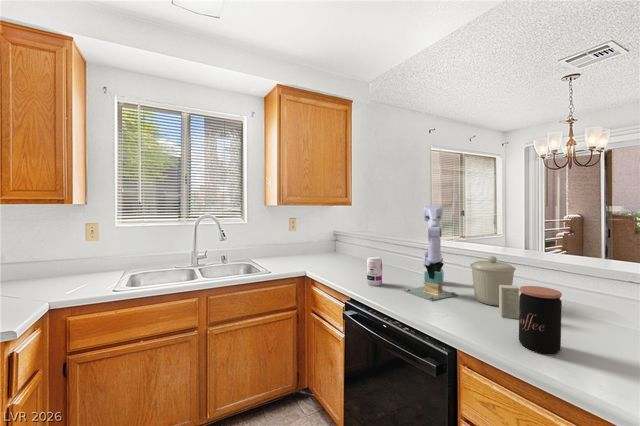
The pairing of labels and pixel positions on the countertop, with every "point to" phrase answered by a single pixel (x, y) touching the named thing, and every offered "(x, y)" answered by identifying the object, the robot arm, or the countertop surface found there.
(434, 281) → the teal brick
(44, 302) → the countertop surface
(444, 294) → the baseplate
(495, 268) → the canister
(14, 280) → the countertop surface
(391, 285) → the countertop surface
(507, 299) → the skincare box
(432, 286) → the honey-wood brick
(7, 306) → the countertop surface
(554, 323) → the coffee jar
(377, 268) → the supplement can
